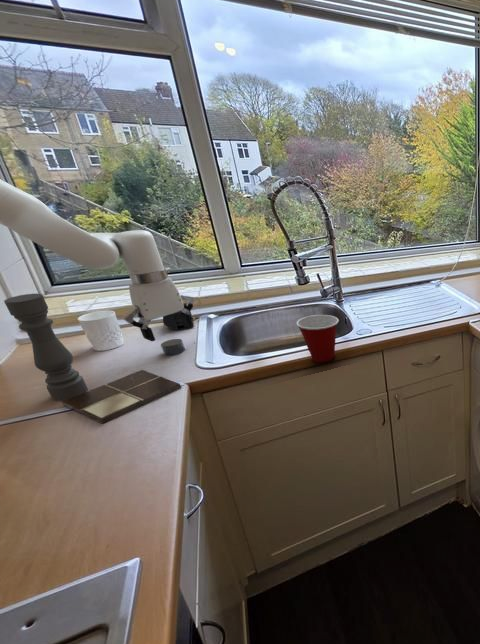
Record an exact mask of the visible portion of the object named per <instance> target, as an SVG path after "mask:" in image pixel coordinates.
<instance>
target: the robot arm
mask: <svg viewBox="0 0 480 644" xmlns="http://www.w3.org/2000/svg"><path fill="white" fill-rule="evenodd" d="M0 225H2V226H4V227H6V228H8V229H10V230H12V231H13V232H14V233H16V234H18V235H20V236H22V237H23V238H26V239H28V240H29V241H32V243H35V244H37V245H38V246H41V247H43V248H45V249H46V250H48V251H51V252H52V253H54V254H56V255H58V256H59V257H62V258H65V259H66V260H69V261H71V262H74V263H76V264H78V265H81V266H83V267H86V268H89V269H93V270H107V269H110V268H112V267H113V266H116V264H117V263H118V262H119V260H120V259H121V260H122V261H123V263H124V267H125V268H126V271H127V273H128V277H129V278H130V281H131V283H130V284H129V285H128V289H129V295H130V301H131V305H132V309H130V310H129V311H128V312H127V313H126V314H124V315H123V316H122V320H123V321H125V322H126V323H127V324H129V325H130V326H133V327H136V328H139V330H140V332H141V334H142V337H143V338H144V339H145V340H147V341H149V342H155V340H156V337H155V335H154V332H153V330H152V327H149V325H150V324H151V322H152V320H157V319H160V318H163V316H166V315H169V314H172V313H175V312H178V311H179V312H181V314H180V315H179V316H180V319H181V321H182V324H183V326H185V327H188V328H189V329H192V328H191V327H192V325H191V323H192V322H191V319H190V316H189V314H190V313H191V314H192V312H190V311H192V310H193V308H194V301H195V297H194V296H190V295H183V294H180V292H179V289H178V288H177V286H176V284H175V283H174V281H173V280H172V278H171V277H169V276H168V274H169V273H172V269H171V268H170V267H165V265H164V264H163V263H164V262H163V260H162V258H161V257H162V256H161V254H160V252H159V249H158V246H157V243H156V241H155V240H156V239H155V238H154V236H153V234H152V233H151V232H150V231H148V230H143V229H134V230H133V229H132V230H126V231H121V232H88V231H86V230H84V229H82V228H80V227H78V226H76V225H75V224H73V223H71V222H70V221H68V220H66V219H64V218H63V217H62V216H60V215H58V214H57V213H56V212H54V210H52V209H50V207H49V206H48V205H46V204H45V203H44V202H43V201H41V200H40V199H38V198H37V197H35V196H34V195H32V194H30V193H28V192H27V191H24V190H22V189H21V188H18V187H16V186H14V185H12V184H10V183H9V182H6V181H5V180H2V179H1V178H0ZM184 301H186V302H185V303H186V304H185V306H184ZM135 316H136V317H137V318H138V321H136V320H135V319H134V317H135Z"/></svg>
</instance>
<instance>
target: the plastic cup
mask: <svg viewBox="0 0 480 644" xmlns="http://www.w3.org/2000/svg"><path fill="white" fill-rule="evenodd" d="M339 322H340V319H339V318H338V317H337V316H334V315H330V314H329V315H328V314H314V315H308V316H304V317H302V318H299V319H298V320H297V321H296V327H298V328H299V330H300V332H301V335H302V337H303V339H304V342H305V345H306V347H307V350H308V352H309V354H310V356H311V358H312V360H313V362H315V363H326V362H329V361H331V360H333V359H334V358H335V354H336V352H335V351H336V338H337V337H336V335H337V333H336V332H337V327H338V323H339Z"/></svg>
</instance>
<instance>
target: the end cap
mask: <svg viewBox="0 0 480 644" xmlns="http://www.w3.org/2000/svg"><path fill="white" fill-rule="evenodd" d="M186 303H187V302H185V303H184V302H183V304H184V306H185V304H186ZM191 311H192V310H191ZM191 311H190V312H191ZM180 314H181V312H179V311H178V312H175V313H172V314H169V315H166V316H163V317H162V323H163V325H164V326H165V327H166V328H168V329H170V330H174V331H184V330H188V329H194V327H195V324H194V318H193V315H192V312H191V313H190V314H189V316H190V319H191V322H192V323H191V325H192V327H191V328H188V327H185V326H183V324H182V321H181V319H180V316H179V315H180Z"/></svg>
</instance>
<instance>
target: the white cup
mask: <svg viewBox="0 0 480 644" xmlns="http://www.w3.org/2000/svg"><path fill="white" fill-rule="evenodd" d="M77 321H78V323H79V326H80V327H81V329H82V331H83V333H84V334H85V336H86V339H87V340H88V342H89V343H90V345H91V346H92V349H93V350H94V351H98V352H102V351H109V350H113V349H116V348H119V347H120V346H122V345H123V344H124V343H125V340H124V338H123V335H122V334H123V333H122V330H121V326H120V324H119V321H118V317H117V314H116V312H115V310H108V309H107V310H105V309H104V310H96V311H91V312H88V313H84V314H82V315H80V316H78V317H77Z"/></svg>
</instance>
